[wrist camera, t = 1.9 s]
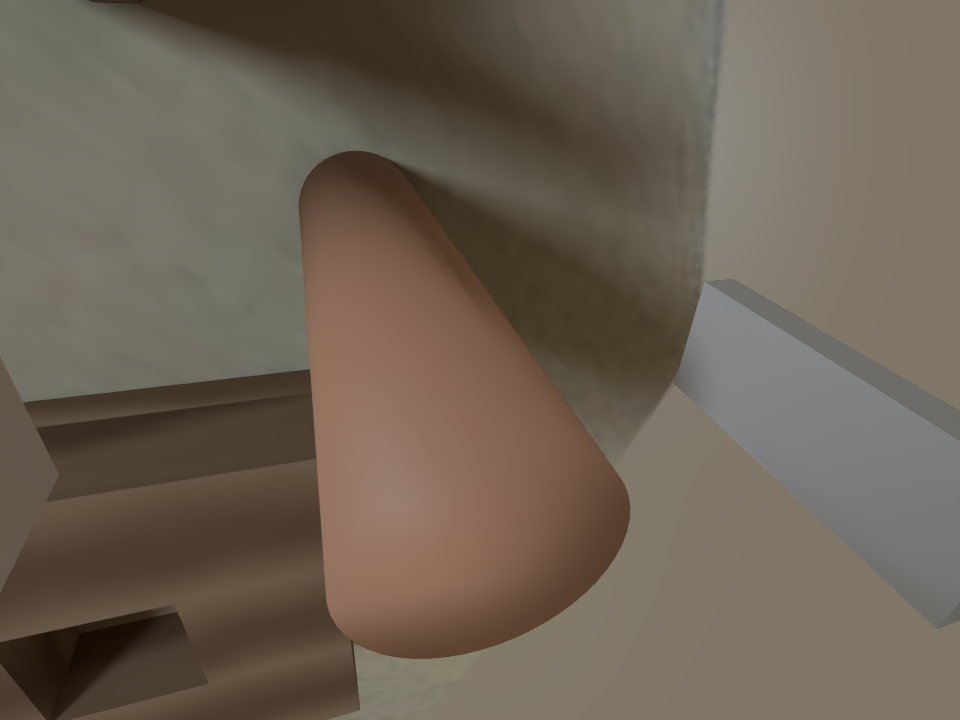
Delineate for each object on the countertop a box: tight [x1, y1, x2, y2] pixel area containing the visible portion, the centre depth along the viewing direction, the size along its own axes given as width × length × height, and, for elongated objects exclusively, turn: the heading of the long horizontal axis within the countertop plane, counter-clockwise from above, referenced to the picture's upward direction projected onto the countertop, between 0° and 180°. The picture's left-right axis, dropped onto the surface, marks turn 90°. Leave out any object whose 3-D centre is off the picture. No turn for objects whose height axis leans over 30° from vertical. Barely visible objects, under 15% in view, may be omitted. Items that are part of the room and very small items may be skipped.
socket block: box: [0, 370, 360, 720], centre depth 20 cm, size 16×16×5 cm
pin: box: [299, 151, 630, 659], centre depth 12 cm, size 4×4×14 cm
